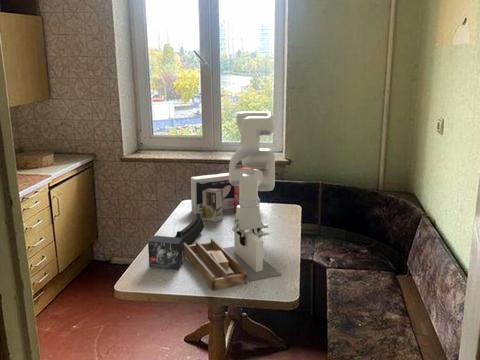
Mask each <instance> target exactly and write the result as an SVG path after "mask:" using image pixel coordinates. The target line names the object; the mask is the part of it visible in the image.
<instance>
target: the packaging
mask: <svg viewBox="0 0 480 360" xmlns="http://www.w3.org/2000/svg"><path fill="white" fill-rule="evenodd" d="M208 188H211V189H217V190H223V191H222V195H223V211H227V210H231V209H232V208H233V209H234V186H233V185H231V184H230V182H229V172H223V173H218V174H216V173H215V174H207V175H206V174H205V175H199V176H198V175H197V176H191V177H190V192H191V193H190V202H191V203H190V204H191V212H192V213H193V214H194V215H196V213H200V215H201V214H203V193H202V191H204V190H206V189H208Z"/></svg>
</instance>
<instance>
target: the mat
mask: <svg viewBox="0 0 480 360" xmlns="http://www.w3.org/2000/svg"><path fill="white" fill-rule="evenodd" d="M223 248H224V249H225V250H226V251H227V252H228V253H229V254H230V255H231V256H232V257H233V258H234V259H235V260H236V261H237V262H238V263H239V264H240V265H241V266H243V267H244V268H245V269H246V270H247V280H248V281H249V282H254V281H260V280H264V279H269V278H273V277H280V276H282V273H281V272H280V271H279V270H278V269H276V268H275V267H273V265H271V264H270V263H269V262H268V261H267V260H265V259H264V258H263V270H262V271H257V272H256V271H255V270H254V269H253V268H251V267H250V266H249V265H248V264H247V263H246V262H245V261H244V260H243V259H242V258H241V257H239V256H238V255H237V254H236V253H235V252H234V245H232V246H229V247H223Z"/></svg>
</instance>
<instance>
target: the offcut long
mask: <svg viewBox="0 0 480 360" xmlns="http://www.w3.org/2000/svg"><path fill="white" fill-rule="evenodd" d="M212 251H215V250H212ZM207 252H208V253H209V254H210V255H211V251H207ZM224 269H225V270H226V271H227V272H228V276H231V275H235V274H234V272H233V271H232V270H231V268H230V267H229V266H228V267H226V268H224Z"/></svg>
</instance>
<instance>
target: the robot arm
mask: <svg viewBox="0 0 480 360" xmlns="http://www.w3.org/2000/svg"><path fill="white" fill-rule="evenodd" d="M236 126H237V129H238V131H239V134H240V146H239V148H238V149H237V150H236V151H235V152H234V153H233V155H232V156H231V158H230V160H229V165H228V168H229V169H228V173H229V182H230V184H231V185H233V186H239V205H238V206H237V210H236V214H235V219H234V224H235V225H234V226H233V227H232V229H231V230H232V232H233V233H234V232H235V233H237V234H238V235H239V236H240V244H241V245H242V246H245V237H244V232H245V230H250V231H251V232H253V233H254V234H255V235H256V236H258V237H260V236H262V234H263V229H268V228H269V224H267V223H266V224H264V223H263V222H262V221H261V219H262V218H261V210H260V209H261V208H260V204H261V203H260V202H261V198H259V195H258V194H259V192H270V191H273V190H274V188H275V185H276V184H275V182H276V157H275V152H274V151H273V150H272V149H271V148H261V146H260V139H261V138H260V136H261V137H262V136H264V137H265V136H268V137H269V136H271V135H273V133H274V127H275V119H274V115H273V113H272V112H271V111H264V110H263V111H255V110H253V111H252V110H246V111H240V112H238V113H237V114H236ZM240 161H241V164H242V166H243V167H246V168H258V169H240V168H236V166H237V165H238V163H239V162H240ZM260 169H264V170H260ZM237 228H239V231H238V230H237Z"/></svg>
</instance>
